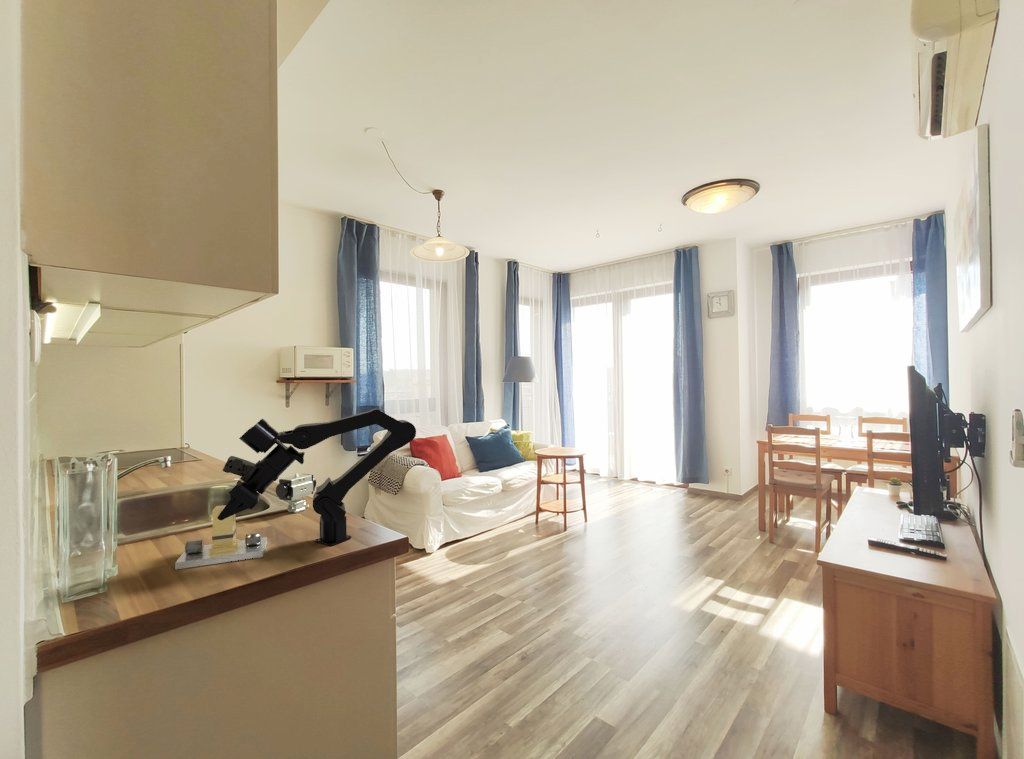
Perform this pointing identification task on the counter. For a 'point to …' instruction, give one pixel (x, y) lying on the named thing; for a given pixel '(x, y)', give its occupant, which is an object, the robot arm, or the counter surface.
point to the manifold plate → (200, 555)
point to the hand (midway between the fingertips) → (221, 515)
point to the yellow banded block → (223, 533)
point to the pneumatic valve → (296, 490)
